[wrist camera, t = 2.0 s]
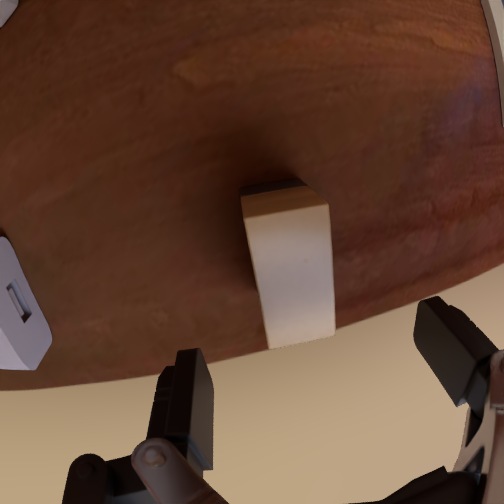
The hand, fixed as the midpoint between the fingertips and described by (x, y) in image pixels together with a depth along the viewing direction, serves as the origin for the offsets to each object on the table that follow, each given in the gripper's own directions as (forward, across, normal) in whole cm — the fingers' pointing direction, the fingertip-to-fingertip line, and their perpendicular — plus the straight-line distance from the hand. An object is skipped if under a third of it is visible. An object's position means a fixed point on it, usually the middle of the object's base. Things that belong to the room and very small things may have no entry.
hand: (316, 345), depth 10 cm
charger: (+9, +26, 0) cm, 28 cm away
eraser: (+9, 0, 0) cm, 9 cm away
